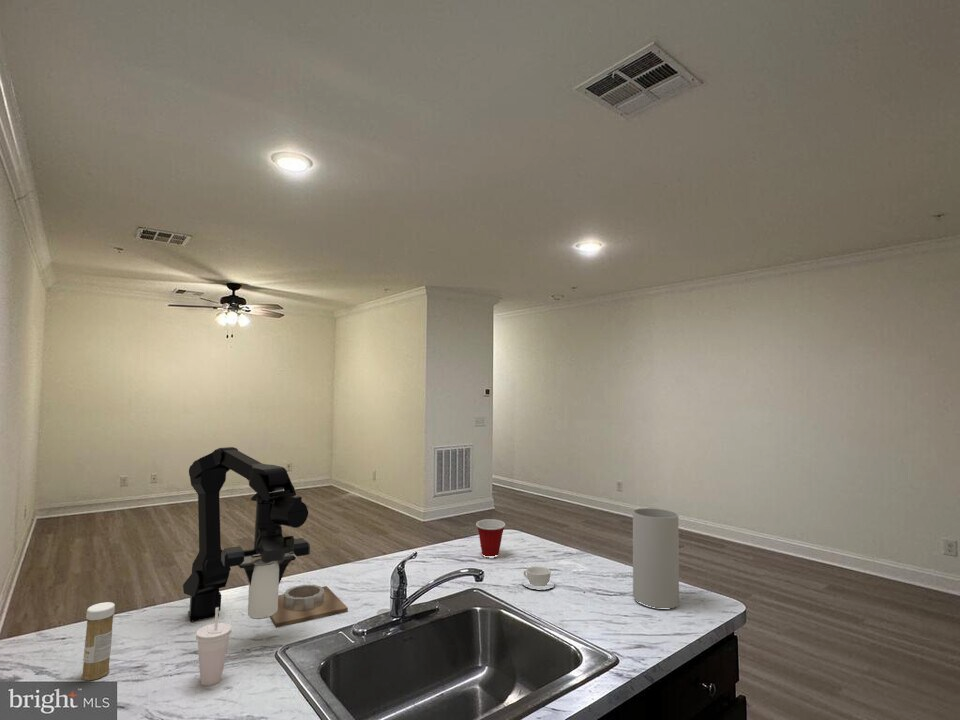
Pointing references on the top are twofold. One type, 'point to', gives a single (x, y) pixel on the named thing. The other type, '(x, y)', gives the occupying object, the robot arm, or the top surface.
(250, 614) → the can
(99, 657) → the sprinkles bottle
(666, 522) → the cylinder vase
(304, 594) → the ring collar
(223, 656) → the smoothie
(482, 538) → the plastic cup
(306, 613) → the base plate
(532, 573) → the teacup
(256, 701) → the top surface
